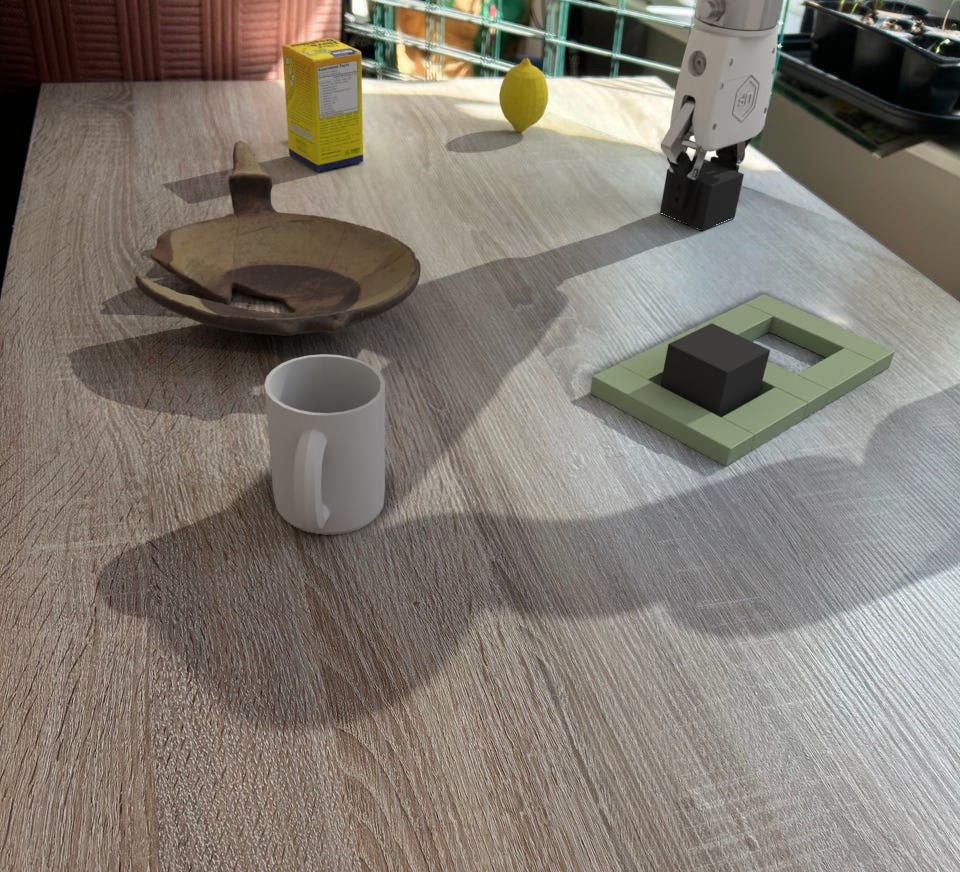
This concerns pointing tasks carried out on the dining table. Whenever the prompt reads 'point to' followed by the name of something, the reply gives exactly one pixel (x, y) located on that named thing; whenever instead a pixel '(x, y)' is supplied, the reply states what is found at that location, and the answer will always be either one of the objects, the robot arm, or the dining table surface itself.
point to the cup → (327, 442)
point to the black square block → (711, 195)
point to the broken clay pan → (280, 264)
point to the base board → (780, 389)
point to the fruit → (523, 95)
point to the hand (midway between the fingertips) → (699, 206)
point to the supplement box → (323, 103)
